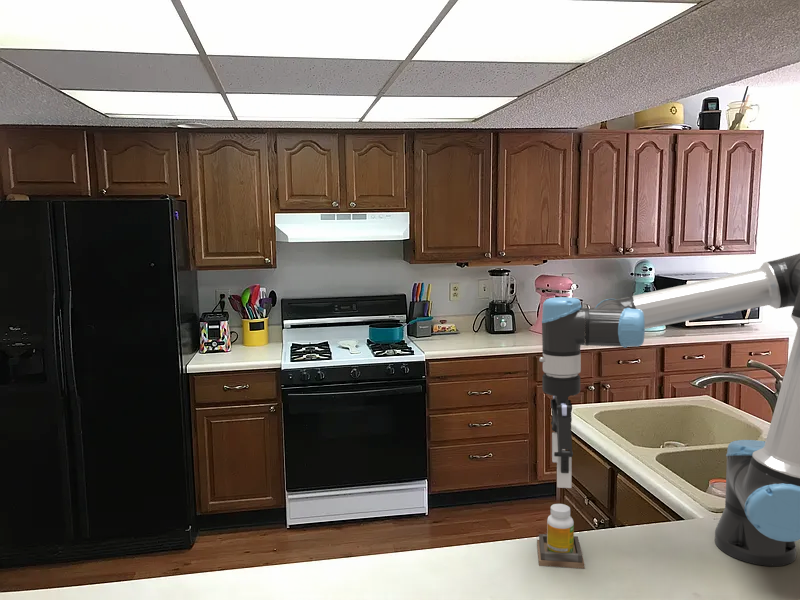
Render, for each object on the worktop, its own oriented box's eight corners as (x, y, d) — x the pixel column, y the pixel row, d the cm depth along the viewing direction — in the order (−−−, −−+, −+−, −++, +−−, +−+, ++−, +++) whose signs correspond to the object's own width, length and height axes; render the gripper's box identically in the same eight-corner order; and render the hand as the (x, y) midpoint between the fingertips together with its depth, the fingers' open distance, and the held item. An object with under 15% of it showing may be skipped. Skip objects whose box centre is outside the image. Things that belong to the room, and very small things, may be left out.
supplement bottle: (574, 559, 130) (574, 514, 129) (547, 557, 131) (547, 512, 130) (572, 546, 135) (573, 502, 134) (546, 544, 136) (547, 501, 135)
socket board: (579, 546, 137) (579, 535, 137) (584, 568, 128) (584, 556, 128) (537, 543, 139) (537, 533, 138) (539, 565, 130) (539, 554, 130)
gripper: (539, 360, 142) (539, 452, 144) (546, 388, 117) (546, 498, 120) (573, 360, 141) (573, 453, 143) (588, 389, 116) (587, 500, 119)
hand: (561, 474), depth 131 cm, fingers open, 13 cm apart
